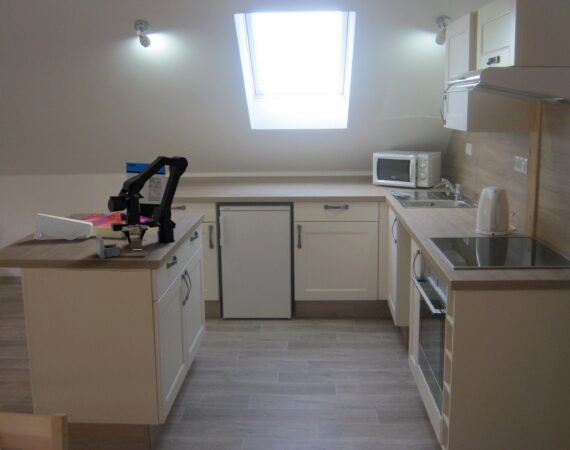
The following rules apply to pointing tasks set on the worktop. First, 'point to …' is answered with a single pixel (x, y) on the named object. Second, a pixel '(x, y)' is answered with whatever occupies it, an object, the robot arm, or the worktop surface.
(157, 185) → the protein powder
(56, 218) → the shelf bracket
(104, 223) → the pink cream flat block
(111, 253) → the bracket
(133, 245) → the rail
